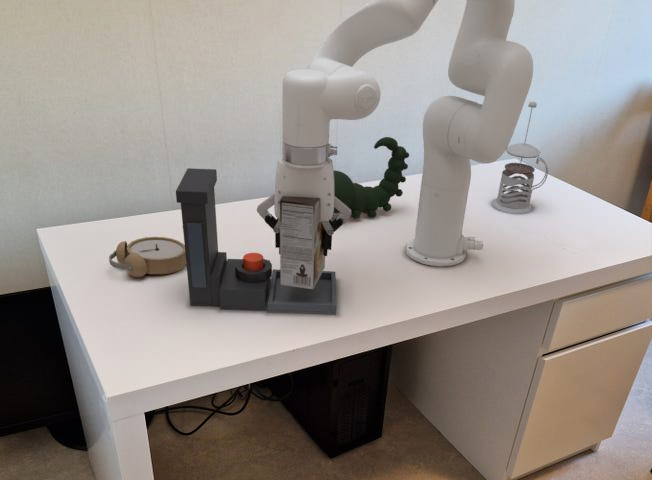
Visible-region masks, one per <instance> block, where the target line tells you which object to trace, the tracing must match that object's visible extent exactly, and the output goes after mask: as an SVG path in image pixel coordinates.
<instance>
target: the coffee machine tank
mask: <svg viewBox="0 0 652 480" xmlns="http://www.w3.org/2000/svg"><path fill="white" fill-rule="evenodd" d="M217 181H218V173H217V169H214V168H213V169H212V168H187V169H186V170H185V172H184V175H183V176H182V178H181V180H180V182H179V184H178V186H177V187H176V190H175V196H176V197H175V199H176V203H178V204H180V210H181V222H182V234H183V244H184V245H185V254H186V265H185V266H186V274H187V285H188V295H189V306H190V307H210V308H211V307H213V308H215V307H216V308H220V294H219V288H220V285H221V281H222V277H223V274H224V270H225V267H226V263H227V260H228V256H227V255H228V254H227V252H226V251H219V242H218V226H217V211H216V209H217V208H216V195H215V186H216V184H217Z"/></svg>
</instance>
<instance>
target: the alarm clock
mask: <svg viewBox="0 0 652 480" xmlns="http://www.w3.org/2000/svg"><path fill="white" fill-rule="evenodd" d="M115 258H116V260H117V262H116V261H114V260H113V259H115ZM108 262H109V265H110V266H112V267H113V268H115V269H119V270H126V271H127V272H128V274H129V275H130V276H132V277H134V278H142V277H144V276H145V275H146V274H148V275H168V274H173V273H176V272H179V271H181V270H183V269H184V268H185V267H186V266H187V265H186V254H185V244H184V242H181V241H180V240H177V239H174V238H170V237H164V236H147V237H140V238H137V239H135V240H132V241H130V242H129V243H128V242H127V240H125V241H121V242H119V243H118V245H117V246H116V249H115V250H114V251H113V252H112V253H110V254H109V256H108Z"/></svg>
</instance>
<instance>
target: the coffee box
mask: <svg viewBox="0 0 652 480" xmlns="http://www.w3.org/2000/svg"><path fill="white" fill-rule="evenodd" d="M324 230H325V228H324V226H323V224H322V223H321V221H320V198H306V197H290V196H283V197H282V198H281V199H280V254H279V260H280V262H279V263H280V264H279V265H280V266H279V267H280V268H279V270H280V283H281V285H285V286H292V287H300V288H307V289H314V287H315V286H316V284H317V282H318V280H319V278H320V276H321V274H322V272H323V271H325V268H326V256H324V255H323V245H324Z"/></svg>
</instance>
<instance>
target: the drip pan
mask: <svg viewBox="0 0 652 480" xmlns="http://www.w3.org/2000/svg"><path fill="white" fill-rule="evenodd" d="M336 276H337V275H336V271H335V270H334V271H331V270H323V272H322V274H321V276H320V278H319V280H318V282H317V284H316V286H315V287H314V289H307V288H300V287H292V286H285V285H281V283H280V269H276V268H275V269H273V268H272V276H271V277H270V284H269V291H268V298H267V313H269V314H293V315H294V314H296V315H297V314H299V315H325V316H327V315H328V316H336V315H337V282H336V281H337V277H336Z"/></svg>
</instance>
